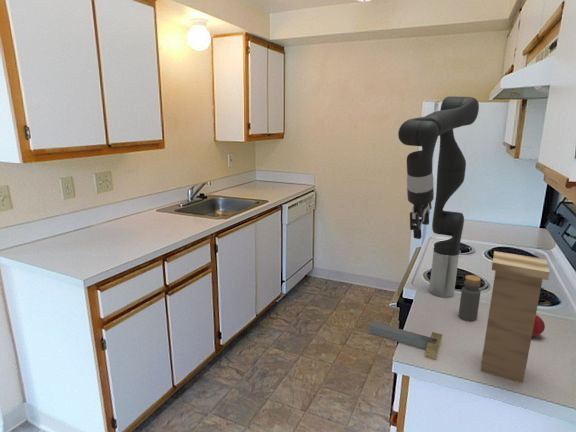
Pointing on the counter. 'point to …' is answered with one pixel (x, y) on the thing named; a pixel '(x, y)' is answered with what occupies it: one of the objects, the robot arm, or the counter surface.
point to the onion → (538, 326)
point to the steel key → (409, 338)
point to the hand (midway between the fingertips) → (421, 230)
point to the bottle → (470, 298)
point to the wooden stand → (512, 314)
